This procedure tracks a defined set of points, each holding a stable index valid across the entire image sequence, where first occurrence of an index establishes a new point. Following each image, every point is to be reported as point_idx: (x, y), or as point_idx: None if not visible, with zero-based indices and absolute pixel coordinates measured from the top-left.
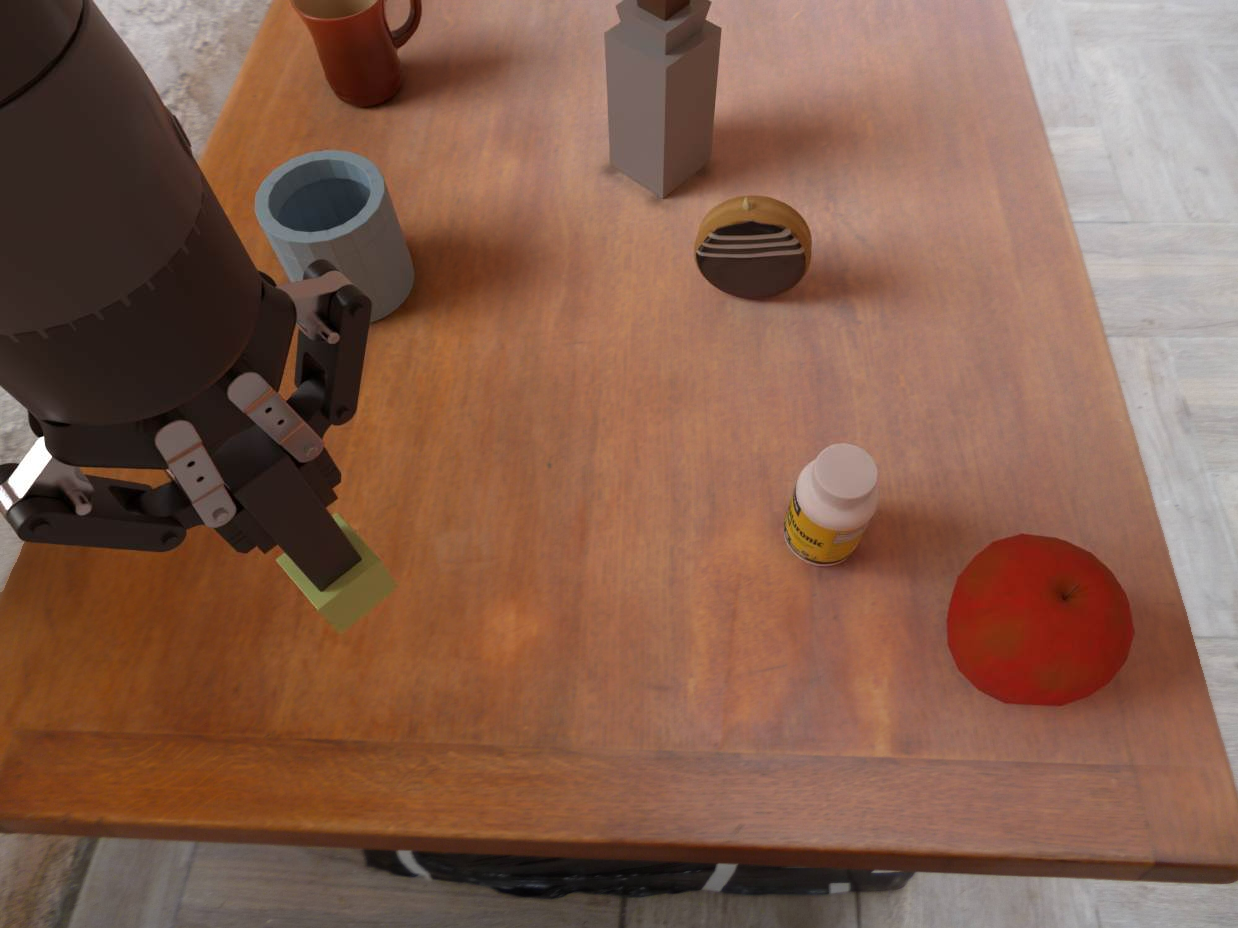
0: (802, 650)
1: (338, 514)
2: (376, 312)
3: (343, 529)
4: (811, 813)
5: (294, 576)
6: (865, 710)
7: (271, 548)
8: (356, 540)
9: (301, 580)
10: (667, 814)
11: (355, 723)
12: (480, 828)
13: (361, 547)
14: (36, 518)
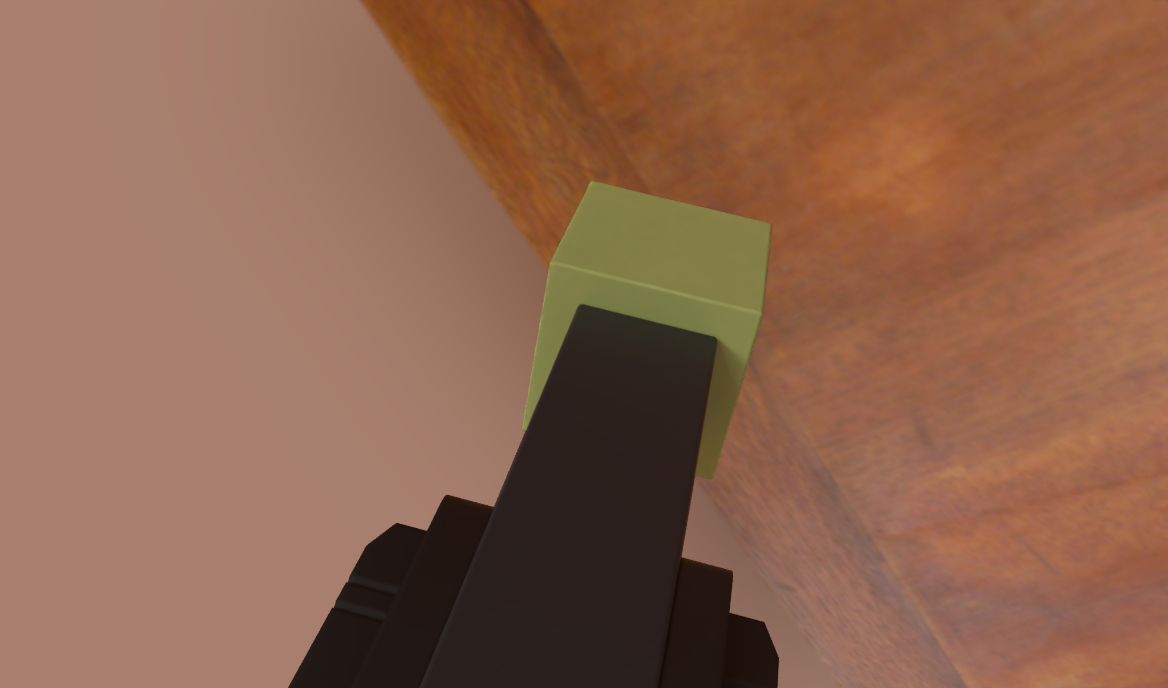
0: (1093, 586)
1: (759, 320)
2: None
3: (728, 358)
4: (855, 651)
5: (547, 334)
6: (1035, 673)
7: None
8: (721, 403)
9: (550, 355)
10: (751, 511)
11: (577, 23)
12: None
13: (712, 425)
14: None
